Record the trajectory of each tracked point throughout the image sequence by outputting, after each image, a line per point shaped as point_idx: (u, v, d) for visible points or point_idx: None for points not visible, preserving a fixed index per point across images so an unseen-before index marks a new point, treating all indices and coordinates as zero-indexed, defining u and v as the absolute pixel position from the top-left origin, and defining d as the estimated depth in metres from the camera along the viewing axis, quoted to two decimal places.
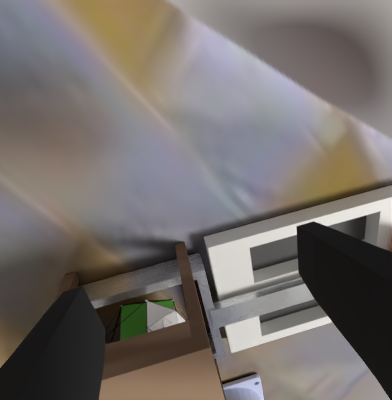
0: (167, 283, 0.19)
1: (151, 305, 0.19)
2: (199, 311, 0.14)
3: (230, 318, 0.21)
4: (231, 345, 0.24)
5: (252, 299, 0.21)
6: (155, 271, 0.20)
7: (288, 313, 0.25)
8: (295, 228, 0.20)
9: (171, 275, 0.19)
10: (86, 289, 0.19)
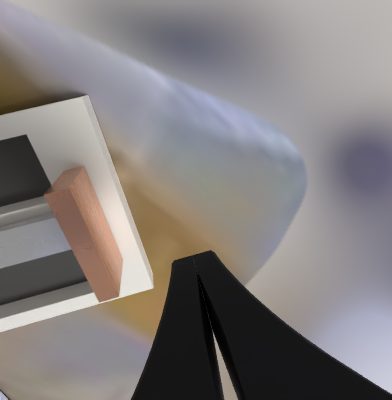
0: None
1: None
2: None
3: None
4: None
5: None
6: None
7: None
8: None
9: None
10: None
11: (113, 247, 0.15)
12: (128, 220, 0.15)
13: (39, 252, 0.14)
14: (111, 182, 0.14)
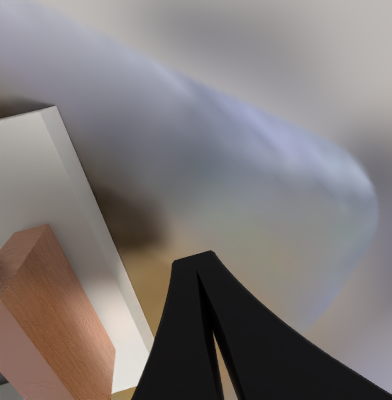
0: None
1: None
2: None
3: None
4: None
5: None
6: None
7: None
8: None
9: None
10: None
11: (99, 344, 0.09)
12: (123, 295, 0.10)
13: None
14: (95, 245, 0.09)
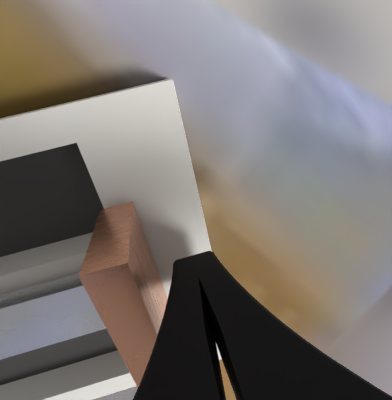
0: None
1: None
2: None
3: None
4: None
5: None
6: None
7: (12, 379, 0.12)
8: None
9: None
10: None
11: None
12: None
13: (58, 335, 0.09)
14: (200, 216, 0.09)
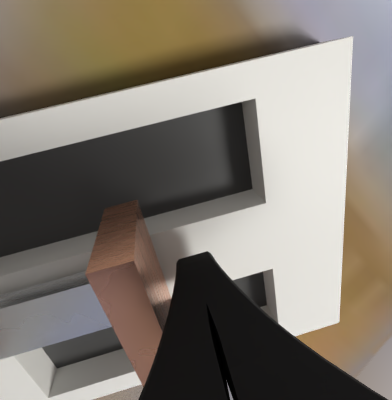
0: None
1: None
2: None
3: None
4: None
5: None
6: None
7: None
8: (5, 136, 0.07)
9: None
10: None
11: None
12: None
13: (62, 334, 0.09)
14: (343, 176, 0.09)
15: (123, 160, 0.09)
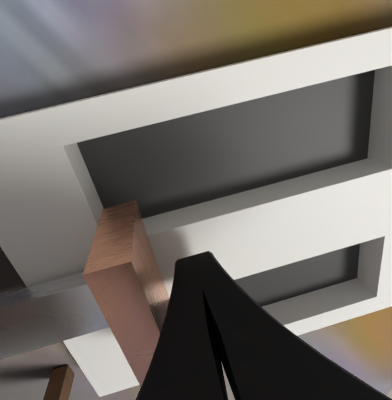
0: None
1: None
2: None
3: None
4: (95, 381, 0.12)
5: None
6: None
7: None
8: (184, 93, 0.07)
9: None
10: None
11: None
12: None
13: (60, 335, 0.09)
14: None
15: (258, 126, 0.10)
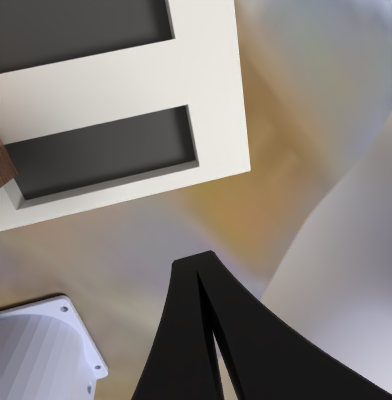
0: None
1: None
2: None
3: None
4: None
5: None
6: None
7: (78, 185, 0.16)
8: None
9: None
10: None
11: None
12: None
13: None
14: (233, 22, 0.13)
15: (70, 2, 0.12)
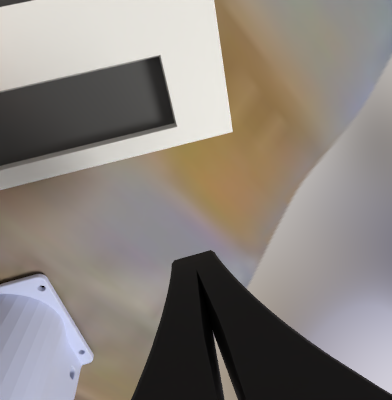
0: None
1: None
2: None
3: None
4: None
5: None
6: None
7: (49, 151, 0.15)
8: None
9: None
10: None
11: None
12: (216, 25, 0.13)
13: None
14: None
15: None
